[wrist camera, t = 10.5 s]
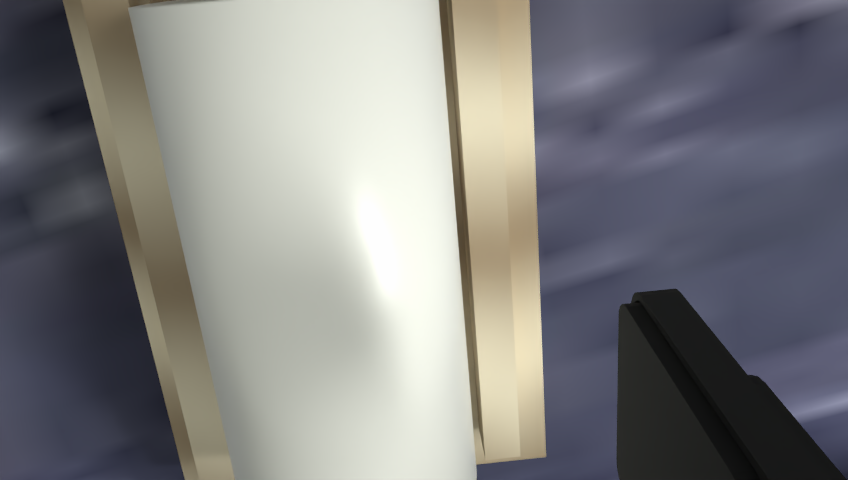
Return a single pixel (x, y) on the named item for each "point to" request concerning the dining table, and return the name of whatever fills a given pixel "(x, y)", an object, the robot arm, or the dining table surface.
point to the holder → (474, 203)
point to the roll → (317, 230)
